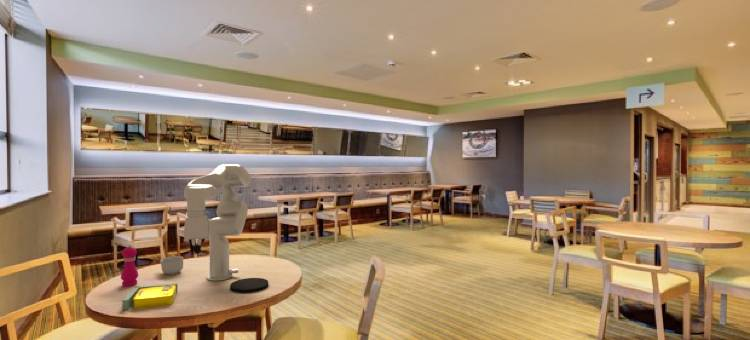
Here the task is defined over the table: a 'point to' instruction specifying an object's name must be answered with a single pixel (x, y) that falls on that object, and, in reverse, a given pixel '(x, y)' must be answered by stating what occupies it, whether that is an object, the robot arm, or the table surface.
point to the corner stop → (128, 299)
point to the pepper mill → (129, 267)
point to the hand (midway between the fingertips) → (197, 253)
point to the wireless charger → (249, 285)
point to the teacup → (172, 264)
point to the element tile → (154, 297)
